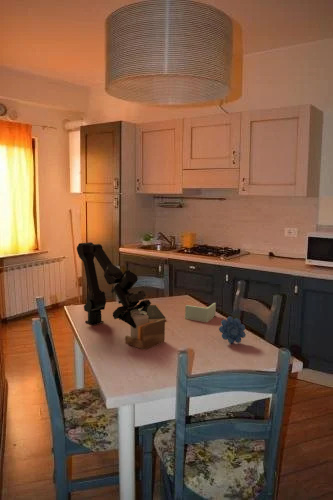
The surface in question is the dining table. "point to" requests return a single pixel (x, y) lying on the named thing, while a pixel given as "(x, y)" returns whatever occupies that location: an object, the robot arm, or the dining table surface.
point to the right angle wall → (200, 312)
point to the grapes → (232, 330)
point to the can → (138, 322)
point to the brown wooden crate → (149, 335)
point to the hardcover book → (153, 313)
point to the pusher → (141, 331)
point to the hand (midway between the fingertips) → (141, 325)
